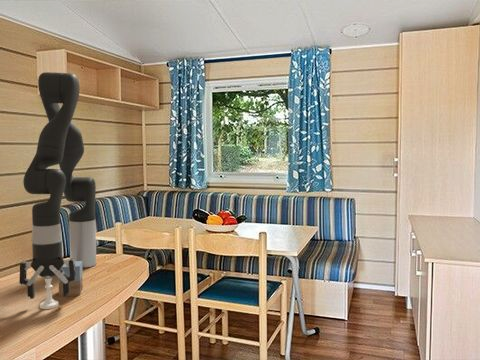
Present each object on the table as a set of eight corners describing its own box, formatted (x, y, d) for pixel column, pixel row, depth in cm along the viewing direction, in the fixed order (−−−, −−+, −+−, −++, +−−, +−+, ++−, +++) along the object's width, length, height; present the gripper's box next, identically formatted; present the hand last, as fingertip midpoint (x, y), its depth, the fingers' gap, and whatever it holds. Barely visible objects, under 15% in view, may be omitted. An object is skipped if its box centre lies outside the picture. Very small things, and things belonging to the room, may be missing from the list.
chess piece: (43, 302, 121) (42, 268, 120) (61, 302, 121) (60, 268, 120) (36, 309, 116) (35, 274, 115) (55, 309, 116) (54, 273, 116)
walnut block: (62, 290, 132) (61, 276, 131) (82, 288, 133) (82, 274, 133) (59, 296, 126) (58, 282, 125) (80, 295, 127) (79, 280, 127)
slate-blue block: (62, 275, 131) (62, 261, 131) (82, 274, 133) (82, 260, 132) (58, 282, 126) (58, 267, 125) (79, 280, 127) (79, 266, 127)
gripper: (76, 236, 122) (77, 290, 124) (22, 238, 119) (24, 294, 120) (72, 241, 115) (74, 299, 117) (15, 244, 112) (17, 303, 113)
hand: (48, 296), depth 118 cm, fingers open, 8 cm apart
